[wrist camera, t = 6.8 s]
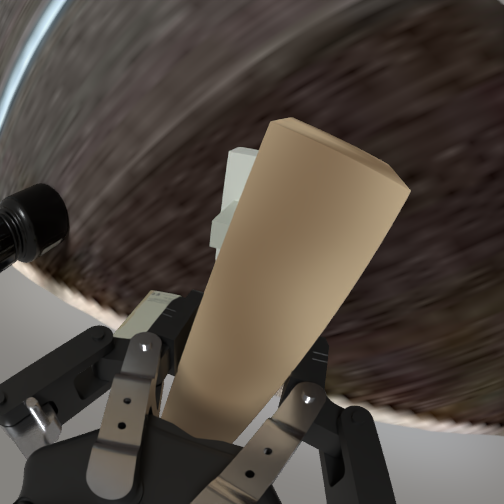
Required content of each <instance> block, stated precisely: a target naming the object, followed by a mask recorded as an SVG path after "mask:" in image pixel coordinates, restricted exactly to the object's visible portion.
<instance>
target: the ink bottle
mask: <svg viewBox="0 0 504 504" xmlns="http://www.w3.org/2000/svg"><path fill="white" fill-rule="evenodd" d="M67 227H68V220H67V213H66V209H65V205H64V203H63V201H62V199H61V197H60V196H59V194H58V193H57V192H56V191H55V190H54V189H53V188H52V187H50V186H49V185H46V184H42V183H40V184H36V185H33V186H31V187H29V188H26V189H24V190H22V191H19V192H17V193H15V194H13V195H10V196H8V197H6V198H5V199H4V200H3V201H2V202H1V203H0V273H1V272H2V271H3V270H5V269H6V268H8V267H9V266H11V265H12V264H13V263H15V262H16V261H17V260H19V261H21V262H25V263H28V262H31V261H33V260H35V259H36V258H38V257H39V256H41V255H42V254H44V253H45V252H47V251H49V250H50V249H52V248H53V247H55V246H56V245H58V244H59V243H61V242H62V241H63V240H64V238H65V236H66V233H67Z"/></svg>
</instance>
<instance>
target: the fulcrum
mask: <svg viewBox="0 0 504 504" xmlns="http://www.w3.org/2000/svg"><path fill="white" fill-rule="evenodd" d="M258 151H259V150H254V149H249V148H244V147H238V148H236V149H233V150H231V151H229V154H228V162H227V169H226V177H225V184H224V192H223V200H222V208H221V213H220V214H219V215H218V216H217V217H216V218H215V219H214V220H213V221H212V228H211V237H210V246H211V247H214V248H217V250H216V259H215V260H217V257H218V254H219V252H220V249H221V246H222V244H223V241H224V238H225V236H226V233H227V231H228V228H229V225H230V223H231V220H232V217H233V215H234V212H235V210H236V207H237V204H238V202H239V199H240V197H241V194H242V192H243V189H244V187H245V184H246V181H247V179H248V176H249V174H250V171H251V169H252V166H253V164H254V161H255V159H256V156H257V154H258Z"/></svg>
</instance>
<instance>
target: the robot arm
mask: <svg viewBox="0 0 504 504" xmlns="http://www.w3.org/2000/svg"><path fill="white" fill-rule="evenodd" d="M203 295H204V293H203V292H200V291H196V290H192V291H191V292H190V293H189V294H188V296H187V297H186V298H184V297H181V296H179V297H178V298H176V299H174V300H172V301H171V302H170V303H169V304H168V306H167V307H166V309H164V311H163V312H162V314H160V316H159V317H158V318H157V319H156V320H155V322H154V323H153V324H152V325H151V327H150V328H149V329H148V331H147V332H140V333H137V334H135V335H134V336H133V337H132V338H131V339H126V338H118V337H113V333H112V331H111V330H110V329H109V328H107V327H105V326H93V327H91V328H89V329H87V330H86V331H84V332H82V333H81V334H79V335H77V336H76V337H74V338H73V339H71V340H69V341H68V342H66V343H64V344H63V345H61V346H60V347H58V348H56V349H55V350H53V351H52V352H50V353H49V354H47V355H45V356H44V357H42V358H41V359H39V360H38V361H36V362H34V363H33V364H31V365H30V366H28V367H26V368H25V369H23V370H22V371H20V372H18V373H17V374H15V375H14V376H12V377H11V378H9V379H8V380H6V381H5V382H3V383H1V384H0V426H1V428H2V429H3V430H4V431H5V432H6V434H7V435H8V436H9V437H10V438H11V439H12V440H13V441H14V442H15V444H16V445H17V447H18V448H19V449H20V451H21V452H22V454H23V455H24V456H25V458H26V459H27V462H26V464H25V468H24V480H23V486H22V490H21V493H20V495H19V498H18V499H17V500H16V501H15V502H14V503H13V504H282V503H281V501H280V499H279V497H278V495H277V493H276V491H275V489H274V487H273V485H272V484H273V482H274V481H275V480H276V478H277V477H278V475H279V474H280V472H281V471H282V470H283V468H284V467H285V465H286V464H287V462H288V461H289V460H290V458H291V457H292V455H293V454H294V452H295V451H296V449H297V448H298V446H299V445H300V443H301V442H302V441H304V442H306V443H307V444H309V445H311V446H313V447H315V448H317V449H319V454H320V461H321V467H322V473H323V480H324V487H325V494H326V500H327V504H396V501H395V497H394V493H393V489H392V485H391V481H390V477H389V473H388V469H387V466H386V462H385V459H384V455H383V452H382V448H381V444H380V441H379V438H378V434H377V430H376V427H375V423H374V420H373V417H372V415H371V414H370V412H369V411H368V410H366V409H365V408H363V407H360V406H349V407H347V408H346V409H344V408H342V407H340V406H338V405H336V404H335V403H333V402H332V401H331V400H330V399H329V398H328V397H327V395H326V393H325V389H324V387H325V378H326V370H327V361H328V351H329V345H328V343H327V341H326V338H324V337H320V336H319V337H318V338H317V340H316V341H315V342H314V344H313V345H312V347H311V348H310V349H309V351H308V352H307V353H306V355H305V356H304V357H303V359H302V360H301V361H300V362H299V364H298V365H297V366H296V368H295V369H294V370H293V371H292V372H291V374H290V375H289V377H288V378H287V379H286V380H285V383H284V387H283V391H282V395H281V399H280V402H279V406H278V410H277V411H276V412H275V414H274V415H273V416H272V417H271V418H268V419H267V420H266V421H265V422H264V424H263V425H262V426H261V427H260V429H259V430H258V431H257V432H256V433H255V435H254V436H253V437H252V438H251V439H250V441H249V442H248V443H247V444H246V445H245V447H241V446H237V445H234V444H231V443H228V442H224V441H219V440H210V439H202V438H195V437H193V436H191V435H190V434H188V433H187V432H185V431H184V430H182V429H181V428H179V427H178V426H176V425H175V424H173V423H171V422H169V421H166V420H164V419H161V418H159V412H160V405H161V399H162V392H163V386H164V379H165V377H166V375H167V374H170V375H173V376H175V375H176V373H177V372H178V366H179V363H180V360H181V357H182V354H183V351H184V348H185V346H186V343H187V340H188V337H189V334H190V331H191V329H192V326H193V323H194V320H195V317H196V315H197V312H198V309H199V306H200V303H201V301H202V298H203ZM82 371H83V372H82ZM110 388H111V390H110V393H109V397H108V401H107V404H106V408H105V412H104V415H103V419H102V423H101V427H100V429H97V430H94V431H91V432H88V433H85V434H82V435H79V436H76V437H73V438H70V439H67V440H63V441H60V442H57V443H54V442H56V441H57V440H58V439H59V435H60V433H61V430H62V425H63V424H64V423H65V422H67V421H68V420H69V419H71V418H72V417H73V416H75V415H76V414H77V413H79V412H80V411H81V410H83V409H84V408H85V407H87V406H88V405H89V404H91V403H92V402H93V401H95V400H96V399H97V398H99V397H100V396H101V395H103V394H104V393H105V392H106V391H108V390H109V389H110Z"/></svg>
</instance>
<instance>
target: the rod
mask: <svg viewBox="0 0 504 504" xmlns="http://www.w3.org/2000/svg"><path fill="white" fill-rule="evenodd" d="M410 192H411V191H410V189H409V188H408V187H407V186H406V185H405V183H404V182H403V181H402V180H401V179H400V177H399V176H398V175H397V174H396V173H395V172H394V171H393V169H392V168H391V167H390V166H389V165H388V164H387V163H385V162H383V161H381V160H379V159H377V158H376V157H374V156H372V155H370V154H368V153H366V152H364V151H362V150H360V149H358V148H356V147H354V146H352V145H350V144H348V143H346V142H344V141H342V140H340V139H338V138H336V137H334V136H332V135H330V134H328V133H326V132H324V131H321V130H319V129H317V128H315V127H313V126H310V125H308V124H306V123H304V122H301V121H299V120H297V119H294V118H292V117H291V118H285V119H280V120H275V121H271V122H270V124H269V127H268V129H267V132H266V134H265V136H264V139H263V141H262V144H261V146H260V149H259V151H258V154H257V156H256V159H255V161H254V164H253V166H252V169H251V171H250V174H249V176H248V179H247V181H246V184H245V187H244V189H243V192H242V194H241V197H240V199H239V202H238V204H237V207H236V210H235V212H234V215H233V217H232V220H231V223H230V225H229V228H228V231H227V233H226V236H225V238H224V241H223V244H222V246H221V249H220V252H219V254H218V257H217V260H216V262H215V265H214V268H213V271H212V273H211V276H210V279H209V281H208V284H207V287H206V290H205V292H204V295H203V298H202V301H201V303H200V306H199V309H198V312H197V315H196V317H195V320H194V323H193V326H192V329H191V331H190V334H189V337H188V340H187V343H186V346H185V348H184V351H183V354H182V357H181V360H180V363H179V366H178V372H177V373H176V375H175V378H174V381H173V384H172V386H171V390H170V392H169V395H168V398H167V401H166V404H165V408H164V410H163V413H162V416H161V419H164V420H166V421H169V422H171V423H173V424H175V425H176V426H178V427H179V428H181V429H182V430H184V431H185V432H187V433H188V434H190V435H191V436H193V437H195V438H202V439H210V440H219V441H224V442H228V443H231V444H232V443H233V442H234V441H235V440H236V439H237V438H238V436H239V435H240V434H241V433H242V432H243V431H244V430H245V429H246V427H247V426H248V425H249V424H250V423H251V422H252V420H253V419H254V418H255V417H256V416H257V415H258V413H259V412H260V411H261V410H262V409H263V408H264V406H265V405H266V404H267V403H268V402H269V400H270V399H271V398H272V397H273V395H274V394H275V393H276V392H277V390H278V389H279V388H280V387H281V386H282V384H283V383H284V382H285V380H286V379H287V378H288V377H289V375H290V374H291V372H292V371H293V370H294V369H295V368H296V366H297V365H298V364H299V362H300V361H301V360H302V359H303V357H304V356H305V355H306V353H307V352H308V351H309V349H310V348H311V347H312V345H313V344H314V342H315V341H316V340H317V338H318V337H319V336H320V334H321V333H322V331H323V330H324V329H325V327H326V326H327V324H328V323H329V322H330V320H331V319H332V317H333V316H334V315H335V313H336V312H337V310H338V309H339V307H340V306H341V304H342V303H343V301H344V300H345V298H346V297H347V296H348V294H349V293H350V291H351V290H352V288H353V287H354V285H355V283H356V282H357V280H358V279H359V277H360V276H361V274H362V273H363V271H364V270H365V268H366V266H367V265H368V263H369V262H370V260H371V258H372V257H373V255H374V254H375V252H376V250H377V249H378V247H379V246H380V244H381V242H382V241H383V239H384V237H385V236H386V234H387V232H388V231H389V229H390V227H391V225H392V224H393V222H394V220H395V219H396V217H397V215H398V213H399V212H400V210H401V208H402V206H403V204H404V203H405V201H406V199H407V197H408V195H409V194H410Z"/></svg>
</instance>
